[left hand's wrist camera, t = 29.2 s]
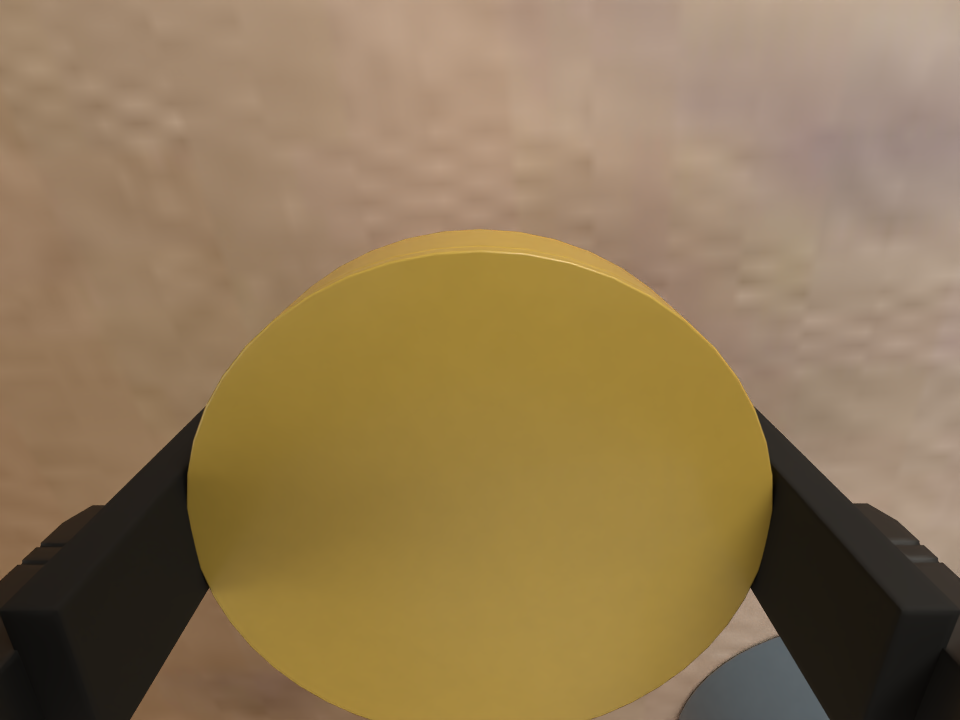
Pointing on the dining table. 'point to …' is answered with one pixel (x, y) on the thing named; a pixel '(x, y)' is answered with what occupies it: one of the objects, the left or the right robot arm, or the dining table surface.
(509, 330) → the lid
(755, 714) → the jar
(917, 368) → the dining table surface
